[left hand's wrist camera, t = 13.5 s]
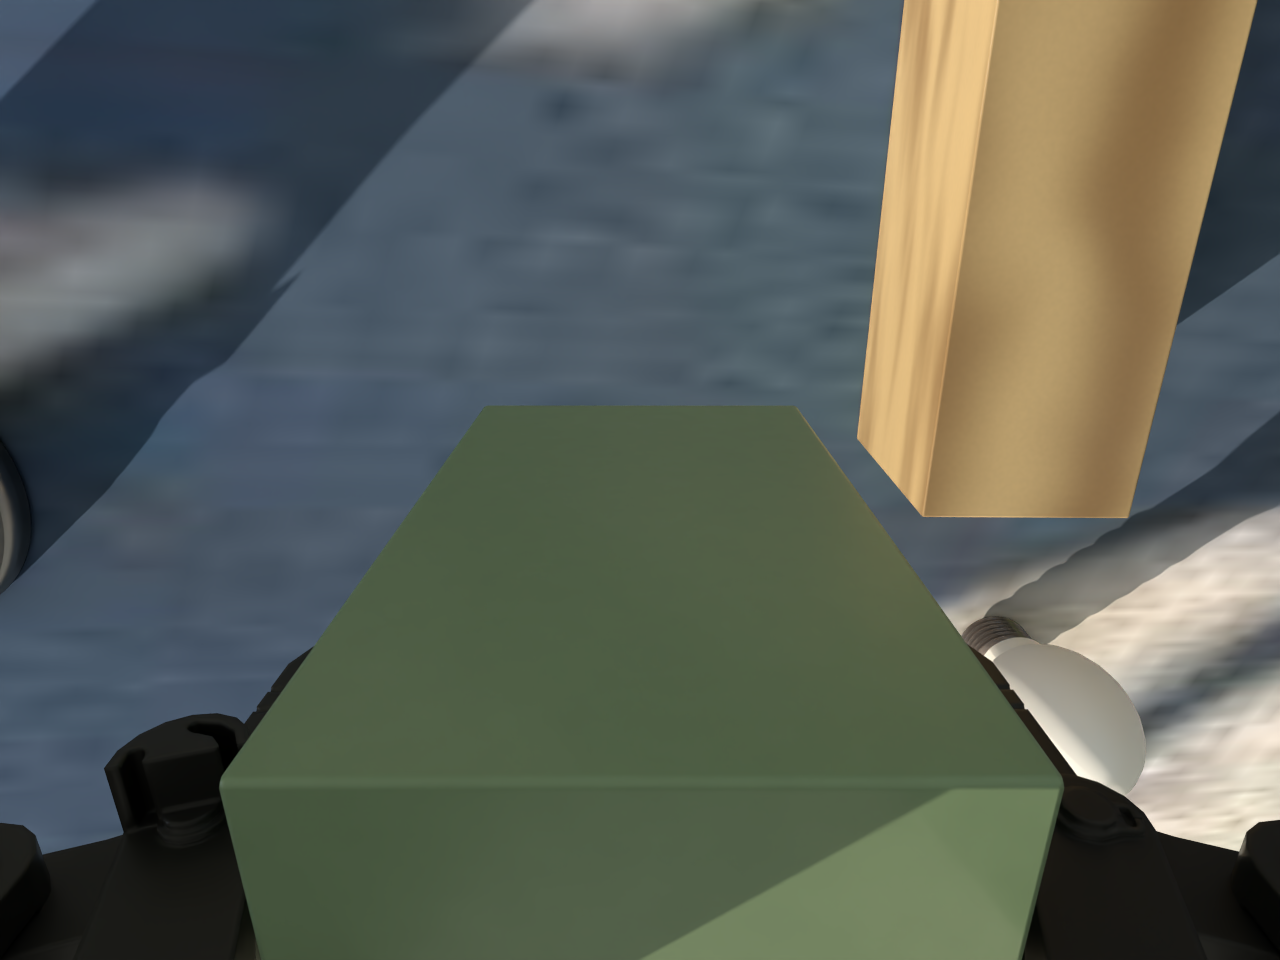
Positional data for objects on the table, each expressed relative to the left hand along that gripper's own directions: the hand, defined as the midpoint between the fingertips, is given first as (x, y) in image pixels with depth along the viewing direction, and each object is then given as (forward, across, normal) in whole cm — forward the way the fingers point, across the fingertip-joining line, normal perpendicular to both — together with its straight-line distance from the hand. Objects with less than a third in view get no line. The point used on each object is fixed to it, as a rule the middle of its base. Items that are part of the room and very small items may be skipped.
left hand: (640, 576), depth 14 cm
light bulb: (+24, +20, -17) cm, 36 cm away
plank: (+24, +15, +10) cm, 30 cm away
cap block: (+1, 0, 0) cm, 1 cm away
